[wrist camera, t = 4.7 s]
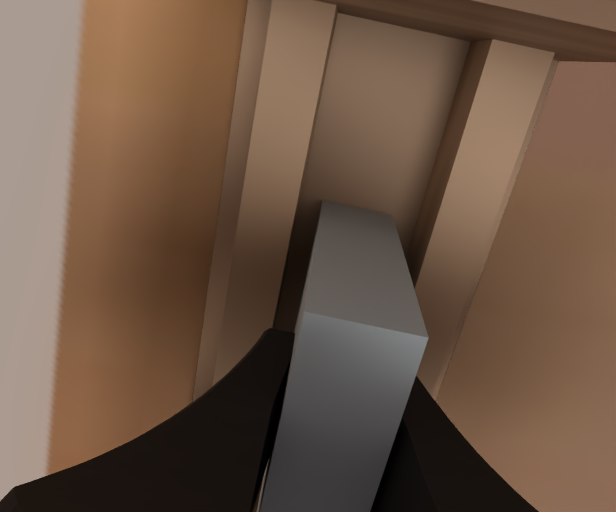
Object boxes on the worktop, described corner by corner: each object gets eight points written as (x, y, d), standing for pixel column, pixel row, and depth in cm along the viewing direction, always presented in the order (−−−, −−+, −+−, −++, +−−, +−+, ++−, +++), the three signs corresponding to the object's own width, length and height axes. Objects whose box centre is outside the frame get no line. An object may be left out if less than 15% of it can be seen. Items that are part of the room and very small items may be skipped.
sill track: (392, 494, 17) (419, 749, 11) (189, 452, 17) (98, 684, 11) (579, -35, 11) (881, -153, 5) (269, -103, 11) (168, -311, 5)
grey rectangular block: (332, 431, 15) (325, 644, 10) (274, 418, 15) (233, 625, 10) (392, 214, 13) (428, 337, 7) (322, 199, 13) (304, 311, 7)
